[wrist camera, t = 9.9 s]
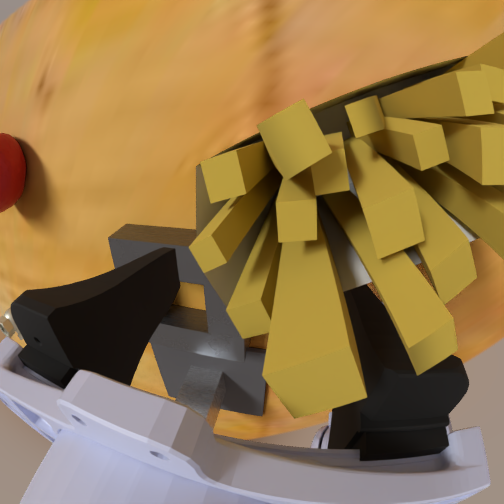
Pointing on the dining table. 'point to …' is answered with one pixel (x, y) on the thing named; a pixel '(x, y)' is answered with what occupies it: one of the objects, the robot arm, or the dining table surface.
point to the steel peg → (203, 392)
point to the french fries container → (356, 220)
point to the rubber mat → (235, 375)
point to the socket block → (177, 317)
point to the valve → (9, 325)
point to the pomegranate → (11, 171)
